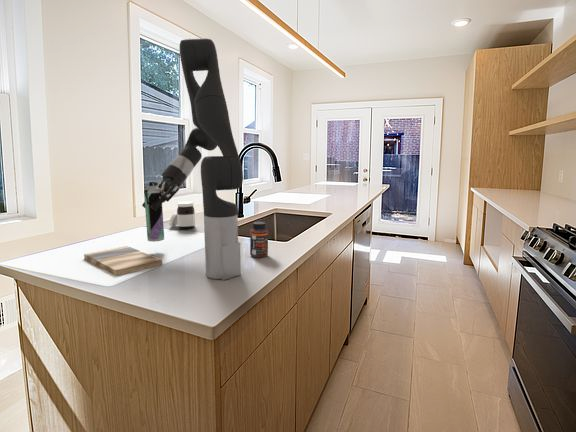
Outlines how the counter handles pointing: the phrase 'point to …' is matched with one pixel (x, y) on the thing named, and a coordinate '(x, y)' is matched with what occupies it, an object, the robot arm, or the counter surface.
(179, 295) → the counter surface
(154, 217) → the spray can
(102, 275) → the counter surface
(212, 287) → the counter surface
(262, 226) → the supplement bottle
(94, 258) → the plywood panel
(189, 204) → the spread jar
